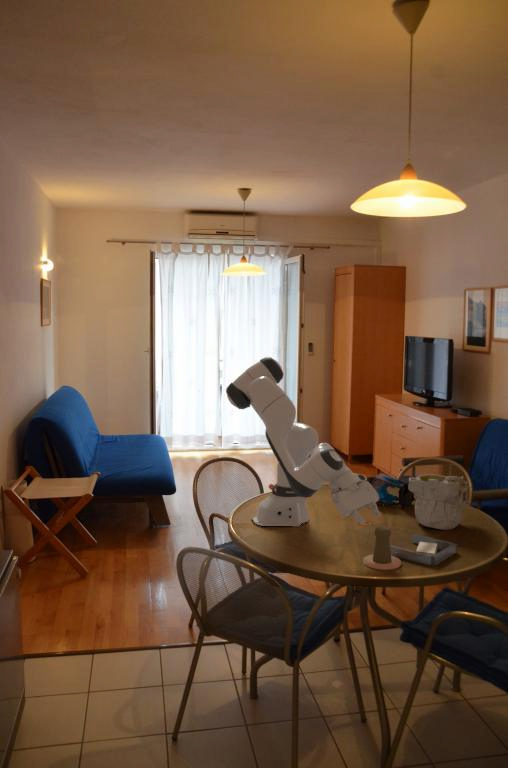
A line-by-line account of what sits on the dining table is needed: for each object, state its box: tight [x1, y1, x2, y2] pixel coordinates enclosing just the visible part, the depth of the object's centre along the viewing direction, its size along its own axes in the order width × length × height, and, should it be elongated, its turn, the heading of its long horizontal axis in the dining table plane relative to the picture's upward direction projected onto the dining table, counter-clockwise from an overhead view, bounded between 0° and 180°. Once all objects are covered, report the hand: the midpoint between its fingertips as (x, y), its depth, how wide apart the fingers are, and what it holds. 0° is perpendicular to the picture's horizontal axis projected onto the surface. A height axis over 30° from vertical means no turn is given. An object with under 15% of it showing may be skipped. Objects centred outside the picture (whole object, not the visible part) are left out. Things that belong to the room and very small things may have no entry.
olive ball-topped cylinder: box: [372, 526, 392, 564], centre depth 211 cm, size 6×6×11 cm
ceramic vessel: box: [408, 473, 469, 531], centre depth 252 cm, size 23×24×25 cm
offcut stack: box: [415, 542, 438, 556], centre depth 219 cm, size 6×11×3 cm, turn 159°
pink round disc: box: [362, 553, 402, 571], centre depth 211 cm, size 12×12×1 cm
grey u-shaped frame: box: [390, 533, 458, 568], centre depth 220 cm, size 16×17×3 cm
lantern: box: [366, 472, 416, 510], centre depth 279 cm, size 16×16×25 cm
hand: (371, 519), depth 214 cm, fingers open, 8 cm apart
